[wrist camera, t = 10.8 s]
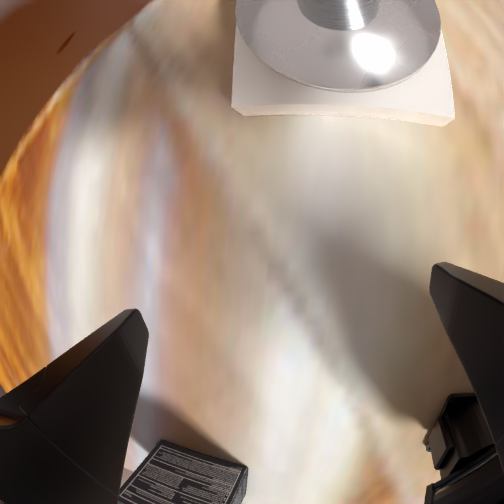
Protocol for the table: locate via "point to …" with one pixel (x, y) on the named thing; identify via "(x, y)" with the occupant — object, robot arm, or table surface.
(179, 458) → the small box
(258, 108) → the base
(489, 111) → the table surface
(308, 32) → the scale pan
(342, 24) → the steel weight
